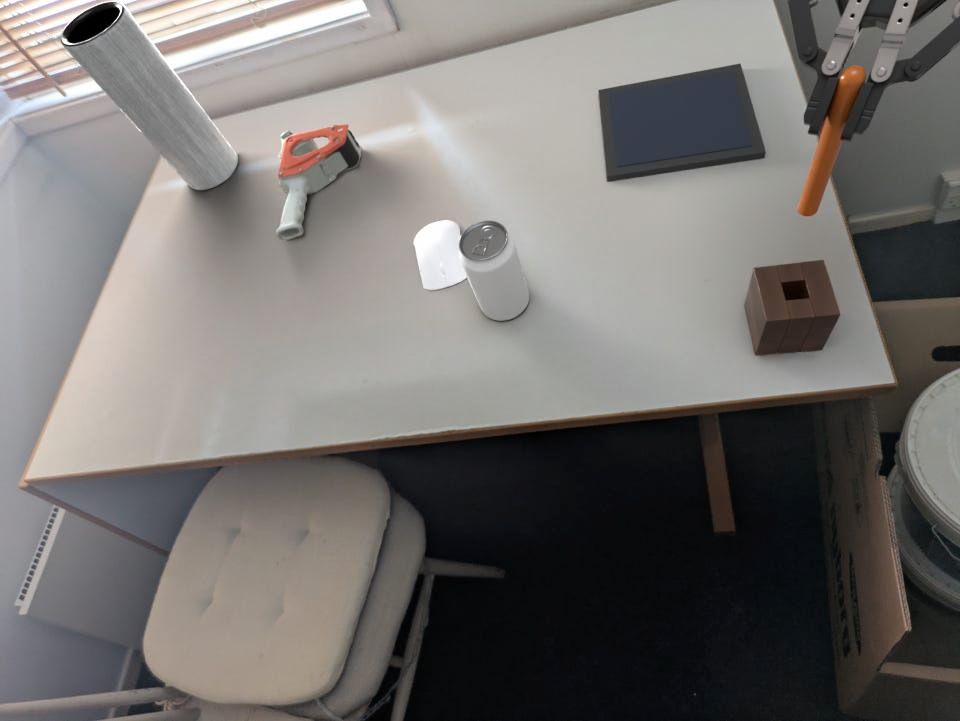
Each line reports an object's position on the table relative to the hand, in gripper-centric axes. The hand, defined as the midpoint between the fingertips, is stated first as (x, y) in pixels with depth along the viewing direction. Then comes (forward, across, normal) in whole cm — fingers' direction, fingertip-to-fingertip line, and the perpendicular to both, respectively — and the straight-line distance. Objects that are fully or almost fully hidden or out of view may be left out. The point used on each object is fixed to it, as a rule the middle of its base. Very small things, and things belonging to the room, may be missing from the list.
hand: (830, 136), depth 43 cm
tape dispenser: (+20, -70, +18) cm, 75 cm away
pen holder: (+18, +2, +18) cm, 26 cm away
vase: (+22, -92, +16) cm, 96 cm away
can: (+25, -29, +12) cm, 40 cm away
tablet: (0, -22, +37) cm, 43 cm away
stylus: (+6, 0, +8) cm, 10 cm away
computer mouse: (+22, -41, +15) cm, 49 cm away
